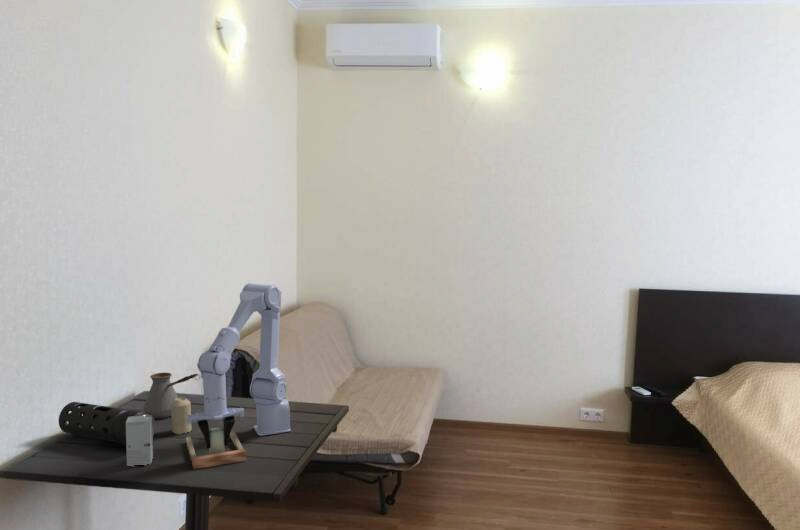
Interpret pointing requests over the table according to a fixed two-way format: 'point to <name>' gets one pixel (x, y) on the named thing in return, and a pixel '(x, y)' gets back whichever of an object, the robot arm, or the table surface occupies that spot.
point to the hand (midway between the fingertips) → (217, 445)
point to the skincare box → (139, 440)
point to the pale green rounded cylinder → (216, 440)
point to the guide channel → (217, 455)
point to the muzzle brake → (98, 421)
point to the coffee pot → (162, 395)
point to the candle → (180, 415)
